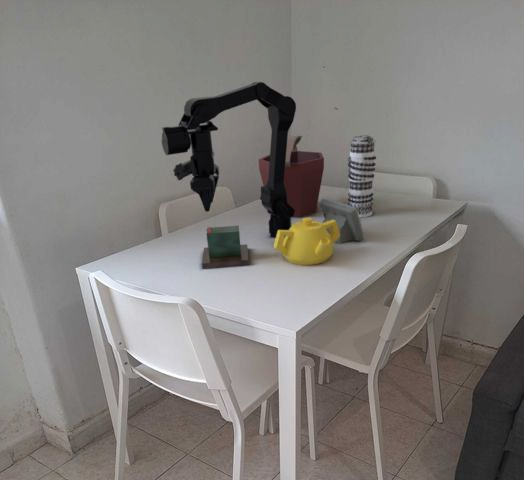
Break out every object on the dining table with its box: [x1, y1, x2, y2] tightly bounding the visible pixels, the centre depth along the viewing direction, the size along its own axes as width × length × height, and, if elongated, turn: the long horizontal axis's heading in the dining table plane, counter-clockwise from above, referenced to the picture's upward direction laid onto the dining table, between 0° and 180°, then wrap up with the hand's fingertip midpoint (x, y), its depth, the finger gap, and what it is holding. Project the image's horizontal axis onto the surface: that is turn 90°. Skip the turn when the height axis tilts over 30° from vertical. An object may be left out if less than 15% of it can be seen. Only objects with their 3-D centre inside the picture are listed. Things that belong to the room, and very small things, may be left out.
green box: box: [206, 224, 241, 258], centre depth 140 cm, size 9×6×7 cm, turn 93°
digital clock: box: [319, 198, 365, 244], centre depth 150 cm, size 16×9×11 cm, turn 20°
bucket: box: [258, 135, 325, 218], centre depth 173 cm, size 24×22×25 cm
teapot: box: [273, 217, 340, 266], centre depth 135 cm, size 20×18×11 cm
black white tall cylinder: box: [346, 134, 377, 218], centre depth 165 cm, size 9×9×25 cm
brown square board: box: [201, 243, 250, 269], centre depth 142 cm, size 13×13×2 cm
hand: (209, 206), depth 143 cm, fingers open, 9 cm apart
